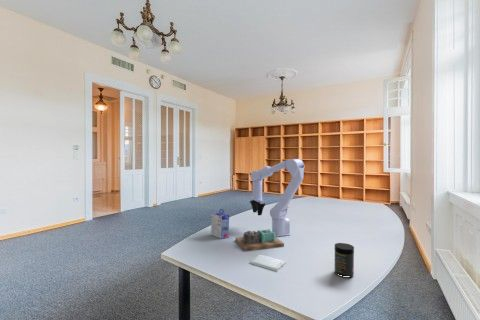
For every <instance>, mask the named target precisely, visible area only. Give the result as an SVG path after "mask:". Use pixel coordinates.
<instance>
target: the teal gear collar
mask: <svg viewBox="0 0 480 320" xmlns="http://www.w3.org/2000/svg"><path fill="white" fill-rule="evenodd" d="M264 230H265V229H263V230H261V229H260V230H259V229H258V230H257V231H256V232H259V233H260V240H261V241H262V242H263V243H264V242H267V241H275V233H274V232H272V230H271V229H270V228H268V229H267V230H268V231H269V233H264Z"/></svg>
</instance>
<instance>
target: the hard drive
mask: <svg viewBox="0 0 480 320" xmlns="http://www.w3.org/2000/svg"><path fill="white" fill-rule="evenodd" d="M249 264H251V265H254V266H258V267H261V268H264V269H267V270H270V269H271V271H274V272H277V271H278V270H279V271H280V270H281V269H282V268H283V267H284V265H285V264H286V265H287V261H285V260H282V259H276V258H273V257H270V256H267V255H262V254H258V255H257V256H255V257H254V258H252V259H251V260H250V261H249ZM286 265H285V266H286ZM279 271H278V272H279Z"/></svg>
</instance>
